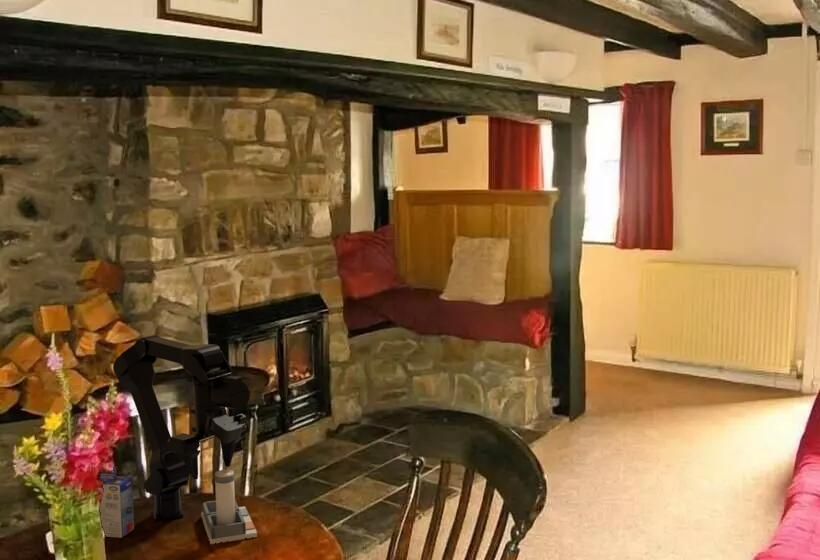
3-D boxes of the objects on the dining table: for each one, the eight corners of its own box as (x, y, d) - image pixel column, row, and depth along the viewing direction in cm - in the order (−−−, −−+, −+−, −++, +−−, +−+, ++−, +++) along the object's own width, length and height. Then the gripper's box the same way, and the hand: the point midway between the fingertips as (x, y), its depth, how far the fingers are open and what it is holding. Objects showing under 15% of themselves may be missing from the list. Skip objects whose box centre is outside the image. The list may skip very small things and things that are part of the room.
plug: (219, 525, 189) (217, 469, 187) (237, 525, 189) (235, 469, 187) (214, 533, 185) (212, 476, 183) (233, 533, 185) (231, 476, 183)
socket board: (201, 516, 197) (200, 502, 196) (245, 510, 200) (244, 496, 200) (210, 544, 183) (209, 528, 182) (257, 536, 186) (256, 521, 186)
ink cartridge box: (136, 528, 191) (132, 466, 189) (123, 539, 186) (119, 474, 184) (96, 525, 193) (92, 463, 191) (82, 535, 188) (78, 472, 186)
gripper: (199, 419, 174) (203, 493, 176) (265, 398, 189) (268, 466, 191) (163, 411, 180) (168, 483, 182) (230, 392, 195) (233, 458, 197)
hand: (211, 472), depth 188 cm, fingers open, 9 cm apart
